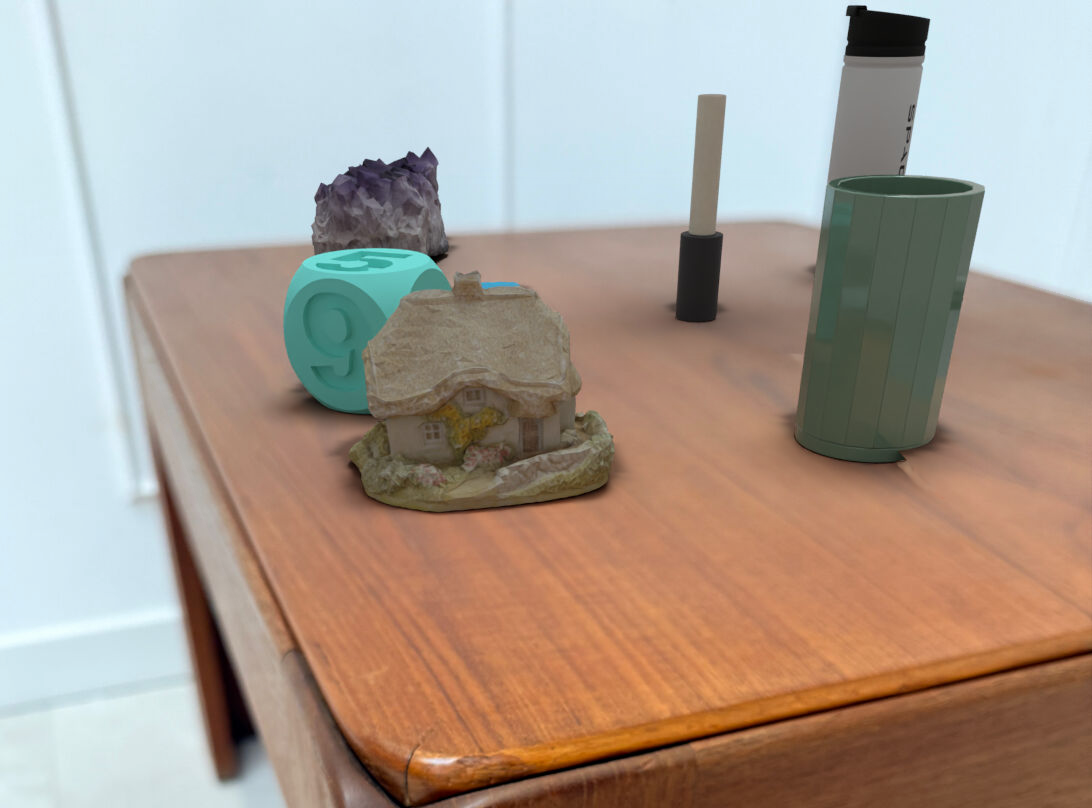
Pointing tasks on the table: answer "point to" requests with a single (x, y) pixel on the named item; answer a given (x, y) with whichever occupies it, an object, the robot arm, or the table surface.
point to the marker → (703, 218)
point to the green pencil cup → (884, 312)
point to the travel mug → (877, 93)
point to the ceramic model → (476, 404)
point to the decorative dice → (347, 316)
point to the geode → (382, 208)
